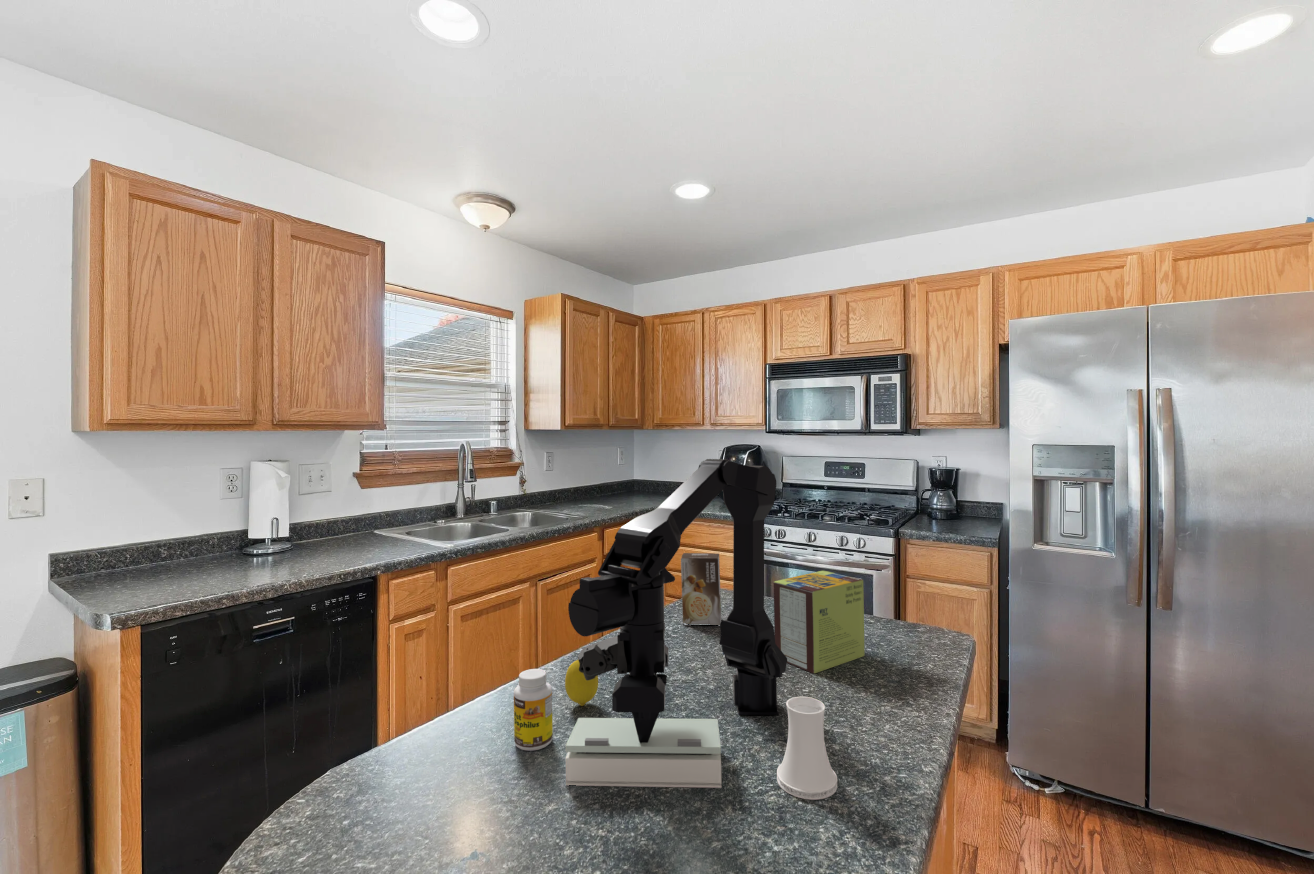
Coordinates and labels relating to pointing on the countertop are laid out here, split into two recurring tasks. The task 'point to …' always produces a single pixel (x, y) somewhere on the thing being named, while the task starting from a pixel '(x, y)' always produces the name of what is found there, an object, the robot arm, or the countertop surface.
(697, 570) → the coffee box
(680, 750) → the lid
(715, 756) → the cable duct
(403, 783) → the countertop surface
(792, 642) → the protein box
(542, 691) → the supplement bottle
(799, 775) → the vase
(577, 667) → the lemon
